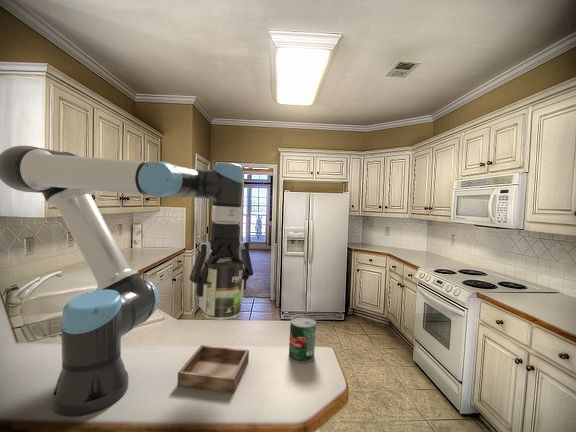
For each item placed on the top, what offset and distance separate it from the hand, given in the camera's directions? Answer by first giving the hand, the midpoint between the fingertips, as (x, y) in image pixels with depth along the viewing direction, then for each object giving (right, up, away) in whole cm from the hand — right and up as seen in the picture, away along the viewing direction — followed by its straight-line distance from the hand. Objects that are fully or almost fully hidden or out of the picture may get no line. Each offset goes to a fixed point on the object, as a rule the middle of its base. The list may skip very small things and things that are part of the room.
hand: (221, 304), depth 81 cm
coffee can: (0, -2, 0) cm, 2 cm away
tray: (-2, -19, +1) cm, 19 cm away
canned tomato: (+22, -20, +12) cm, 32 cm away
